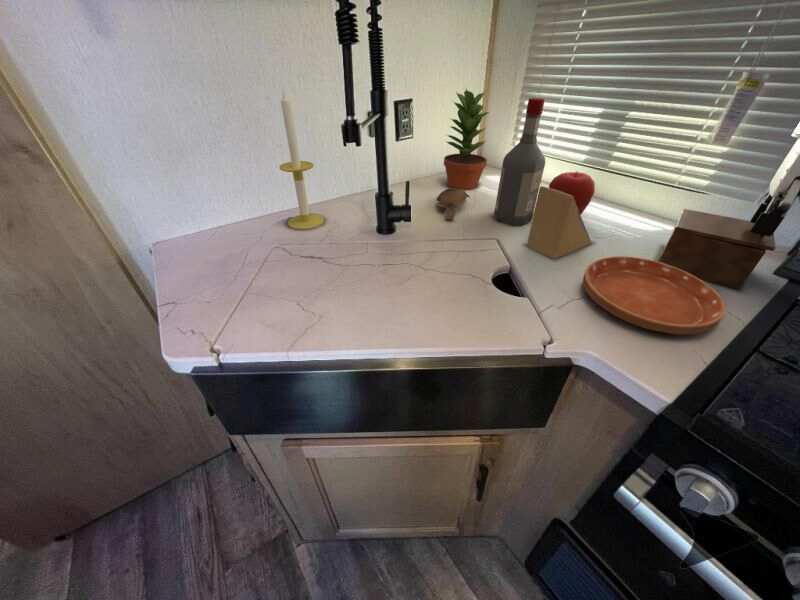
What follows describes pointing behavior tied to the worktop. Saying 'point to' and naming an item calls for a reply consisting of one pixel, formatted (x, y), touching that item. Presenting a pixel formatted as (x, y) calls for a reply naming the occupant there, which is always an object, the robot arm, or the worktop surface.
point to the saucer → (653, 295)
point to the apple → (575, 187)
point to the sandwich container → (556, 224)
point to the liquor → (521, 172)
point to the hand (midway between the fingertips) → (760, 228)
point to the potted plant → (466, 145)
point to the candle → (297, 173)
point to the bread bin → (711, 258)
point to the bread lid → (723, 229)
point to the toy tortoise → (451, 201)
